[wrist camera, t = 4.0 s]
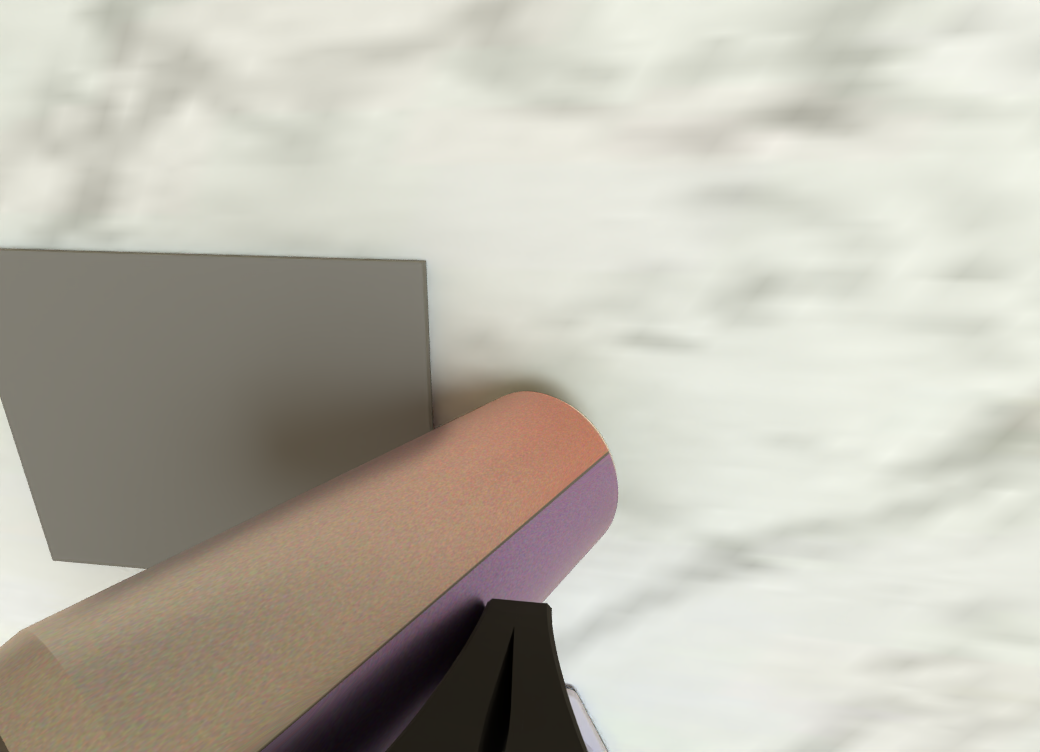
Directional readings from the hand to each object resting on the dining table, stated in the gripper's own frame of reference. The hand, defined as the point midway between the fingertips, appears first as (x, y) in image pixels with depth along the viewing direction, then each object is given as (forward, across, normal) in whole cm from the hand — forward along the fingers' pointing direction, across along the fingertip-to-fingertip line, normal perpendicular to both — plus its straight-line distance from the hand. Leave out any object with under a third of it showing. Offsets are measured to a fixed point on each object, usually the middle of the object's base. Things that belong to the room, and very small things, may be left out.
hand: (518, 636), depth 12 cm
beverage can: (+8, 0, 0) cm, 8 cm away
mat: (+9, +13, 0) cm, 16 cm away
